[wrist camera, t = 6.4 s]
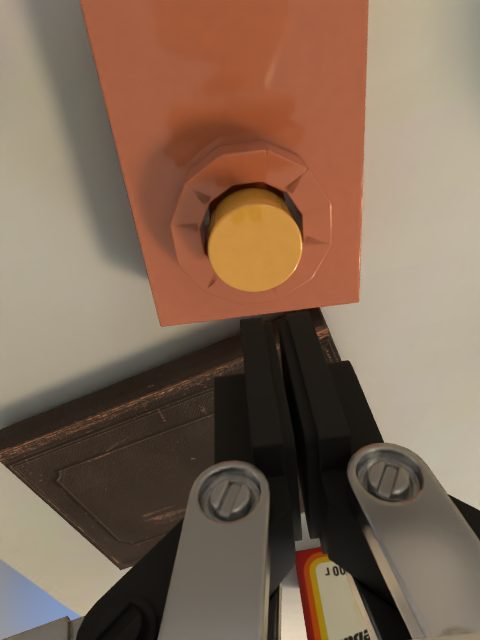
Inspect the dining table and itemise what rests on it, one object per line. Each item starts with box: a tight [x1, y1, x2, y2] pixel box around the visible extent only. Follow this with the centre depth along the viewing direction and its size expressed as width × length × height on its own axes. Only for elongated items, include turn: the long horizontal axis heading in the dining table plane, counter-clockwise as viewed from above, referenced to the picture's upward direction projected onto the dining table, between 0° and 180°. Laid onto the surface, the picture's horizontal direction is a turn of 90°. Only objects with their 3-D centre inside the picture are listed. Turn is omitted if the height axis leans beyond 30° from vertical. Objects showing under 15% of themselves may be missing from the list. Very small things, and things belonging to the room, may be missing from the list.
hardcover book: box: [0, 307, 341, 570], centre depth 32 cm, size 16×23×2 cm
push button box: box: [79, 0, 369, 327], centre depth 20 cm, size 14×10×6 cm
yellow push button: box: [208, 188, 303, 292], centre depth 18 cm, size 4×4×2 cm
